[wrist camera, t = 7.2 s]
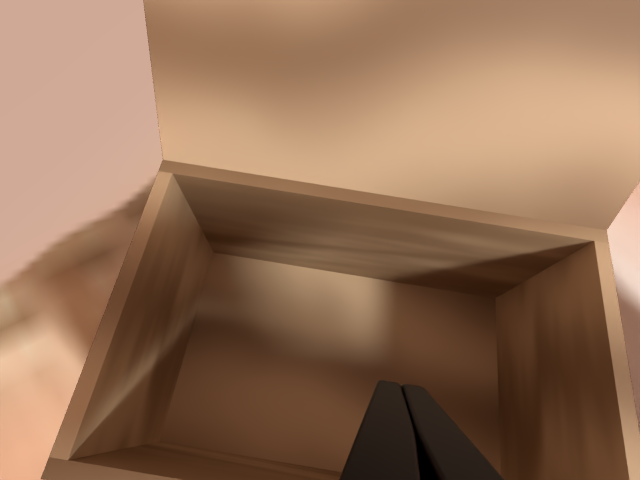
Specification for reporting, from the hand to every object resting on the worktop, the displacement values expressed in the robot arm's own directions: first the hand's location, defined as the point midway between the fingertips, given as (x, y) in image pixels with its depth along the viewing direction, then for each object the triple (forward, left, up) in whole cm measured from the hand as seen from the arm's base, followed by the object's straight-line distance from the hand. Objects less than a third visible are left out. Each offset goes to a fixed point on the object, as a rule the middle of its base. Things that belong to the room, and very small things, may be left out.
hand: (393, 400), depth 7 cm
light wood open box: (+2, +1, -12) cm, 12 cm away
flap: (+9, +4, 0) cm, 10 cm away
